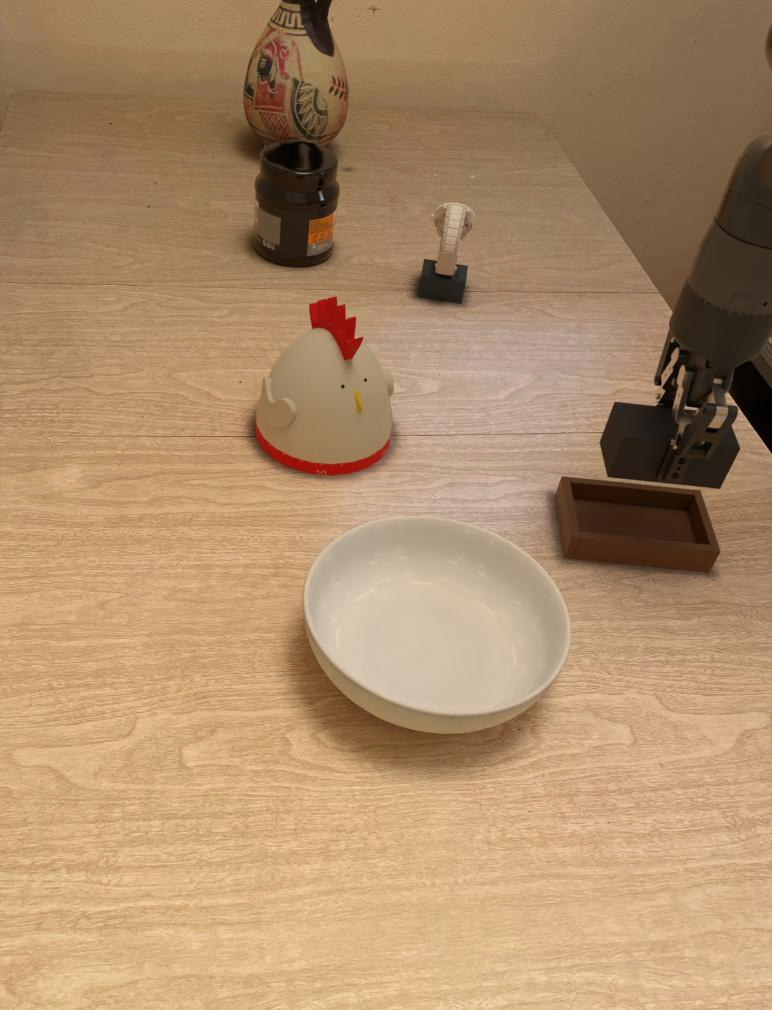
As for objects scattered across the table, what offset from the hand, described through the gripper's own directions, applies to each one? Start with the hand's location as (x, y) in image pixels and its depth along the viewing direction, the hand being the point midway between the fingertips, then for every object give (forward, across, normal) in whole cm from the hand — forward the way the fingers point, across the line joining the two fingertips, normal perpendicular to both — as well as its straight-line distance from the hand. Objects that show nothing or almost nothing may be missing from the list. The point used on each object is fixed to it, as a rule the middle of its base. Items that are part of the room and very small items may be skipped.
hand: (661, 459), depth 85 cm
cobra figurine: (+9, +42, +17) cm, 46 cm away
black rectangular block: (+1, 0, 0) cm, 1 cm away
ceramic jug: (+9, +79, +38) cm, 88 cm away
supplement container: (+9, +49, +36) cm, 62 cm away
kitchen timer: (+9, +11, +30) cm, 33 cm away
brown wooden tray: (+9, 0, 0) cm, 9 cm away
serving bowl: (+9, -18, +20) cm, 29 cm away
